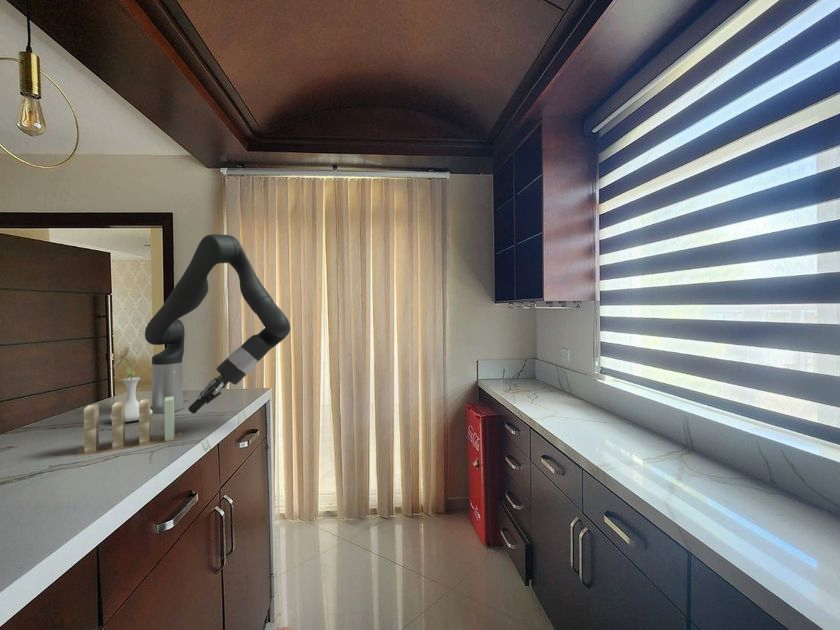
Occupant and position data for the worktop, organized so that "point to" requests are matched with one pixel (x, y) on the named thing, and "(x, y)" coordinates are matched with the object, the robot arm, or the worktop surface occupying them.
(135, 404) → the flower in vase
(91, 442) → the end domino
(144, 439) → the domino
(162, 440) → the board
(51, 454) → the worktop surface
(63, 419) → the worktop surface
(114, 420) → the domino
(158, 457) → the worktop surface
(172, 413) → the green domino
